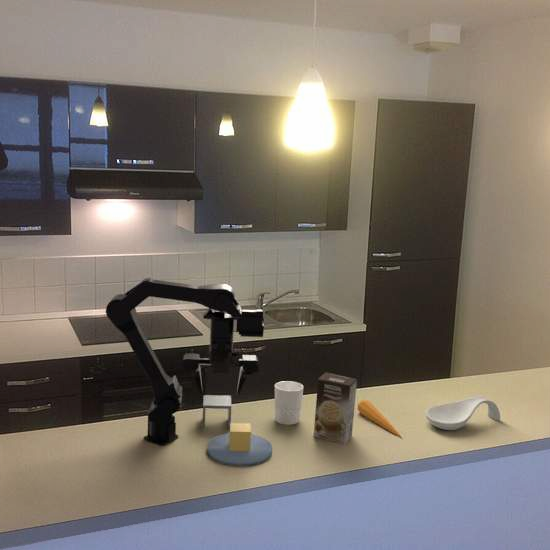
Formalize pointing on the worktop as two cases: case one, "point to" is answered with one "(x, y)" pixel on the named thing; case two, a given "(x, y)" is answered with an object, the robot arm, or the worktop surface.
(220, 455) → the dish
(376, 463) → the worktop surface
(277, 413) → the white cup
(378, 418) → the carrot
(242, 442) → the block
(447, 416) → the spoon rest
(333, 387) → the coffee box
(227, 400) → the cover
